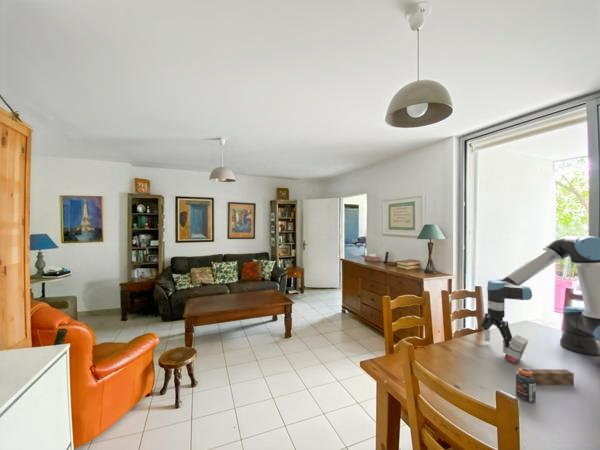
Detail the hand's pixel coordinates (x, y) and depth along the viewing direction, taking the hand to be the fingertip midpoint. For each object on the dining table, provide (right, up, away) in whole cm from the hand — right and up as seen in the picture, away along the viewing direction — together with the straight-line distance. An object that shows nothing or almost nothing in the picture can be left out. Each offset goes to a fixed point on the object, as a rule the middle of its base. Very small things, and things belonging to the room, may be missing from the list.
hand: (496, 346), depth 139 cm
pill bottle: (-19, -2, -39) cm, 44 cm away
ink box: (0, -1, -11) cm, 11 cm away
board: (0, -1, -29) cm, 29 cm away
